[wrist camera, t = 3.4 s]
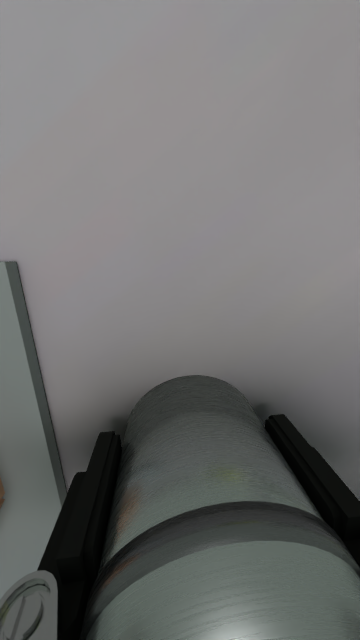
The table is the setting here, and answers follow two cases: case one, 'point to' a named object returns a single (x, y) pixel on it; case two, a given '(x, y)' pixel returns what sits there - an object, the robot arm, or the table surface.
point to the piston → (215, 532)
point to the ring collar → (23, 443)
